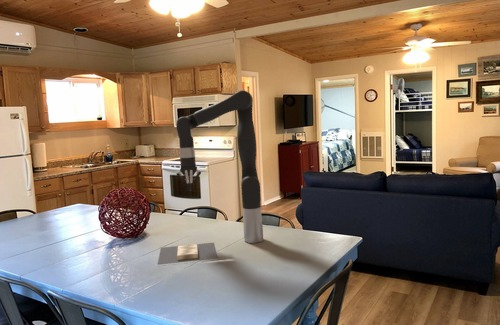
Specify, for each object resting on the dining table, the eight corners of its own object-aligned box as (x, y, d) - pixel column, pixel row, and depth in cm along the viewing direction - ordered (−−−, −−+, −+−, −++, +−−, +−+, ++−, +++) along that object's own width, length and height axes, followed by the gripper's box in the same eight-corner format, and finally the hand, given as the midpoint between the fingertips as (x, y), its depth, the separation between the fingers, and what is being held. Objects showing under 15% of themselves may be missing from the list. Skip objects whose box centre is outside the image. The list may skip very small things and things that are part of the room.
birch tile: (196, 244, 191) (197, 253, 177) (197, 248, 191) (198, 258, 178) (177, 246, 190) (177, 255, 176) (178, 250, 190) (177, 260, 176)
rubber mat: (214, 244, 200) (213, 242, 200) (217, 260, 176) (217, 258, 176) (161, 249, 196) (160, 247, 196) (157, 266, 172) (157, 264, 172)
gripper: (174, 158, 197) (176, 192, 199) (200, 156, 199) (203, 190, 201) (174, 156, 205) (177, 190, 206) (200, 155, 207) (202, 188, 208)
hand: (190, 190), depth 204 cm, fingers closed
